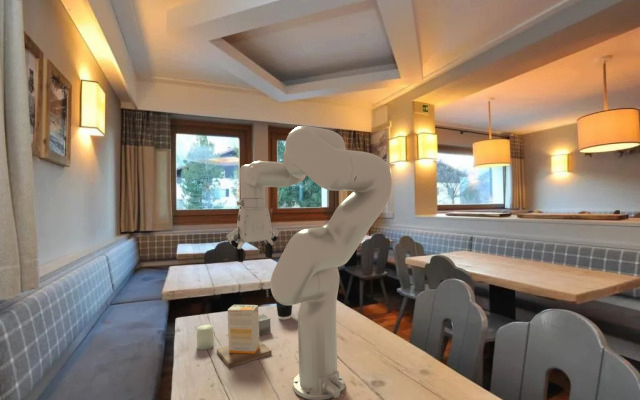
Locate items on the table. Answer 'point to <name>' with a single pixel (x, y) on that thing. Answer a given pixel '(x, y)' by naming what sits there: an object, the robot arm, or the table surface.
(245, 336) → the supplement box
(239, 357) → the tan board
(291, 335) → the table surface
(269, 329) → the gray block
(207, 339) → the sage capsule
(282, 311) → the dixie cup
